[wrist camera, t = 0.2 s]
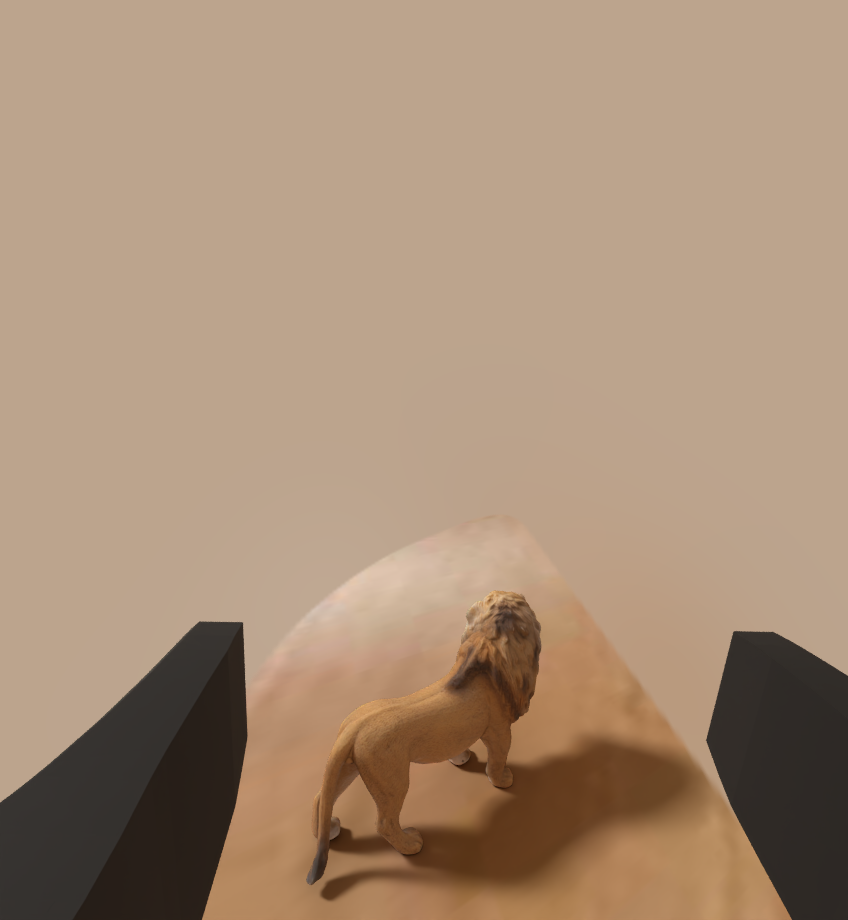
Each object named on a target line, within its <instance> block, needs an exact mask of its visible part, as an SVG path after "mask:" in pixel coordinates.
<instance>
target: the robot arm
mask: <svg viewBox="0 0 848 920" xmlns="http://www.w3.org/2000/svg"><path fill="white" fill-rule="evenodd" d="M706 741H707V744H708V747H709V749H710V752H711V755H712V758H713V760H714V763H715V766H716V768H717V771H718V774H719V777H720V779H721V782H722V784H723V787H724V789H725V792H726V794H727V797H728V799H729V802H730V804H731V807H732V808H733V810H734V812H735V814H736V816H737V818H738V820H739V822H740V824H741V826H742V828H743V830H744V831H745V833H746V835H747V837H748V839H749V841H750V843H751V845H752V847H753V848H754V850H755V852H756V854H757V856H758V858H759V860H760V862H761V863H762V865H763V867H764V869H765V871H766V873H767V874H768V876H769V878H770V880H771V882H772V884H773V885H774V887H775V889H776V891H777V893H778V895H779V896H780V898H781V900H782V902H783V904H784V906H785V907H786V909H787V911H788V913H789V915H790V917H791V918H792V920H848V676H847V675H845V674H844V673H842V672H841V671H839V670H838V669H836V668H834V667H833V666H831V665H829V664H828V663H826V662H825V661H823V660H821V659H820V658H818V657H816V656H815V655H813V654H812V653H810V652H808V651H806V650H805V649H803V648H802V647H800V646H798V645H796V644H795V643H793V642H791V641H789V640H787V639H785V638H784V637H782V636H780V635H778V634H776V633H774V632H742V631H741V632H740V631H734V632H733V636H732V640H731V644H730V648H729V652H728V656H727V660H726V664H725V668H724V672H723V676H722V680H721V684H720V688H719V692H718V696H717V700H716V704H715V708H714V712H713V716H712V720H711V724H710V728H709V732H708V735H707V739H706ZM246 743H247V713H246V688H245V664H244V638H243V623H242V622H199V623H197V624H196V625H195V626H194V627H193V628H192V629H191V630H190V631H189V632H188V633H187V634H186V635H185V636H184V637H183V638H182V639H181V640H180V641H179V642H178V643H177V644H176V645H175V646H174V647H173V648H172V649H171V650H170V651H169V652H168V653H167V654H166V655H165V656H164V657H163V658H162V659H161V661H160V662H159V663H158V664H157V665H156V666H155V667H154V668H153V669H152V670H151V671H150V672H149V673H148V674H147V675H146V676H145V677H144V678H143V679H142V680H141V681H140V682H139V683H138V684H137V685H136V686H135V687H134V688H132V689H131V690H130V691H129V692H128V693H127V694H126V695H125V696H124V697H123V698H122V699H121V700H120V701H119V702H118V703H117V704H116V705H115V706H114V707H113V708H112V709H111V710H110V711H108V712H107V713H106V714H105V715H104V716H103V717H102V718H101V719H100V720H99V721H98V722H97V723H96V724H95V725H93V726H92V727H91V728H90V729H89V730H88V731H87V732H85V733H84V734H83V735H82V736H81V737H80V738H79V739H77V740H76V741H75V742H74V743H73V744H72V745H70V746H69V747H68V748H67V749H66V750H65V751H64V752H62V753H61V754H60V755H59V756H58V757H57V758H56V759H54V760H53V761H52V762H51V763H50V764H49V765H47V766H46V767H45V768H44V769H43V770H41V771H40V772H39V773H38V774H37V775H35V776H34V777H33V778H32V779H30V780H29V781H28V782H27V783H25V784H24V785H23V786H22V787H20V788H19V789H18V790H16V791H15V792H14V793H13V794H11V795H10V796H9V797H7V798H6V799H4V800H3V801H2V802H1V803H0V920H202V917H203V914H204V911H205V907H206V904H207V901H208V897H209V894H210V890H211V887H212V884H213V880H214V877H215V874H216V870H217V867H218V864H219V860H220V857H221V853H222V850H223V847H224V843H225V840H226V836H227V833H228V830H229V826H230V823H231V819H232V816H233V812H234V809H235V805H236V799H237V794H238V789H239V783H240V778H241V772H242V766H243V760H244V754H245V748H246Z"/></svg>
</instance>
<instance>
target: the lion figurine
mask: <svg viewBox="0 0 848 920" xmlns="http://www.w3.org/2000/svg"><path fill="white" fill-rule="evenodd" d="M466 618H467V621H468V622H467V624H466V628H465V632H464V634H463V635H462V639H461V647H460V649H459V651H458V654H457V659H456V663H455V664H454V666H453V667H452V669H451V671H450V672H449V674H447V675H446V676H445V677H443V678H442V679H440V680H439V681H437V682H435V683H434V684H432V685H430V686H428V687H426V688H424V689H421V690H419V691H417V692H416V693H414V694H411V695H409V696H405V697H402V698H394V699H379V700H375V701H372V702H369V703H366V704H364V705H362V706H360V707H358V708H357V709H356V710H355V711H353V712H352V713H351V714H350V715H349V716H348V717H347V718H346V719H345V720H344V721H343V722H342V724H341V726H340V729H339V733H338V737H337V741H336V742H335V744H334V747H333V749H332V751H331V753H330V756H329V759H328V762H327V765H326V769H325V773H324V777H323V783H322V788H321V790H320V791H319V792H318V794H317V795H316V796H315V798H314V803H313V816H312V832H313V834H314V836H315V837H316V838H317V839H318V842H317V852H316V856H315V858H314V861H313V865H312V866H311V869H310V871H309V873H308V876H307V883H308V884H309V885H312V884H314V883H315V882H316V881H317V880H319V879H320V878H321V877H322V875H323V874H324V870H325V867H326V864H327V859H328V851H329V840H331V839H333V838H335V837H336V836H338V834H339V833H340V820H339V819H338V818H337V817H332V810H333V805H334V803H335V802H336V800H337V798H338V797H339V796H340V795H341V794H342V793H343V792H344V790H345V789H346V788H347V787H348V786H349V785H350V784H351V783H352V782H353V780H354V779H355V778H356V777H357V776H358V775H359V773H360V776H361V778H362V780H363V781H364V783H365V785H366V787H367V789H368V790H369V792H370V794H371V795H372V797H373V799H374V801H375V803H376V805H377V819H376V824H375V828H376V830H377V832H378V833H379V834H380V835H382V836H383V837H384V838H385V839H386V840H387V841H388V842H389V843H390V844H391V845H392V846H393V847H394V848H395V849H396V850H397V851H399V852H401V853H403V854H415V853H417V852H419V851H420V850H421V848H422V846H423V840H422V837H421V835H420V833H419V832H418V831H417V830H416V829H415V828H413V827H409V828H406V829H404V830H402V829H401V827H400V824H399V814H400V811H401V808H402V805H403V802H404V799H405V796H406V794H407V791H408V788H409V766H410V762H414V763H420V764H428V763H439V762H443V761H445V760H449V761H450V762H452V763H453V764H455V765H461V764H463V763H465V762H466V761H467V760H468V759H469V758H470V755H471V751H470V750H469V749H468V748H469V747H470V746H471V745H472V744H474V743H475V742H476V741H477V740H478V739H479V738H481V740H482V741H483V743H484V744H485V746H486V747H487V749H488V762H487V766H486V775H487V776H488V778H489V780H490V782H491V783H492V784H493V785H494V786H498V787H504V788H506V787H509V786H511V785H512V782H513V775H512V773H511V771H510V769H509V768H507V767H505V764H506V760H507V755H508V752H509V749H510V744H511V729H510V726H511V723H514V722H515V721H517V720H518V718H519V717H520V716H523V715H524V714H525V713H527V712H528V708H529V704H530V699H531V698H532V697H533V695H534V691H535V685H536V676H537V674H538V671H539V663H538V662H539V654H540V652H541V640H540V631H541V626H540V623H539V622H538V621H537V620H536V616H535V613H534V611H533V610H531V608H530V607H529V604H528V603H527V602H526V600H525V598H524V596H523V595H522V594H519V595H518V594H516V593H514V592H504V591H492V592H490V594H489V595H488V596H486V597H485V598H484V600H483V601H477V602H476V603H475V604H474V605H473V606H472V607H471V608H470V609H469V610H468V611H467V613H466Z"/></svg>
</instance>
